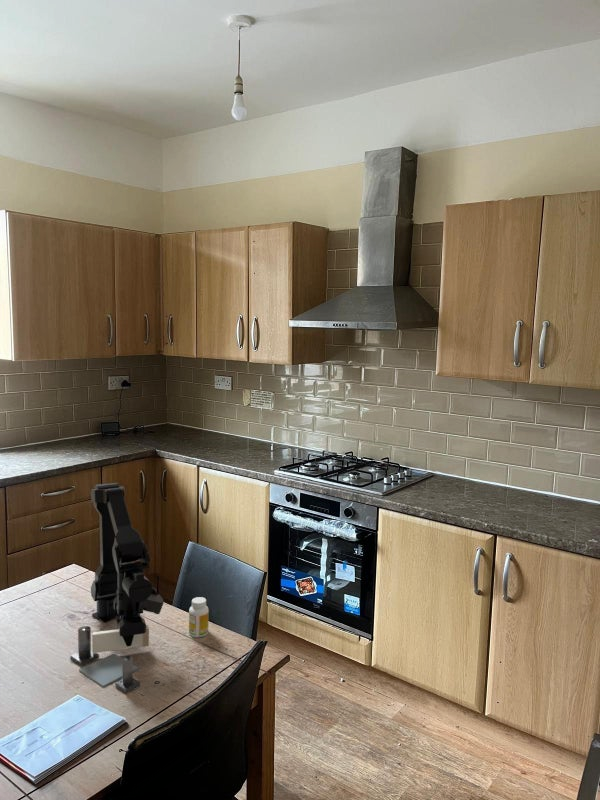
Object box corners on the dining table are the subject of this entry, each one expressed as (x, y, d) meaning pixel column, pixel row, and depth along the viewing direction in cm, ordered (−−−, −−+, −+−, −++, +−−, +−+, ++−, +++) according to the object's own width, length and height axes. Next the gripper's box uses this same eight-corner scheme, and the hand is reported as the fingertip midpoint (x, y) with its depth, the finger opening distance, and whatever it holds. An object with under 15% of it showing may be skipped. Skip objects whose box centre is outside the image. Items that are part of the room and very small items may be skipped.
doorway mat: (79, 671, 149) (79, 669, 149) (114, 654, 156) (114, 653, 156) (103, 687, 142) (103, 685, 142) (138, 669, 150) (138, 667, 150)
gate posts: (70, 659, 154) (69, 629, 153) (87, 651, 158) (87, 622, 157) (123, 694, 140) (123, 662, 139) (141, 684, 144) (141, 653, 143)
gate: (92, 653, 154) (92, 635, 153) (92, 650, 155) (92, 631, 155) (148, 646, 158) (148, 628, 158) (148, 642, 160) (148, 624, 159)
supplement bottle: (209, 628, 172) (209, 595, 170) (207, 638, 166) (207, 604, 165) (190, 627, 171) (190, 595, 170) (187, 637, 166) (187, 604, 165)
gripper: (167, 597, 148) (166, 658, 149) (155, 570, 165) (155, 625, 166) (120, 603, 144) (119, 666, 145) (113, 575, 161) (113, 631, 162)
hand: (128, 645), depth 155 cm, fingers closed
